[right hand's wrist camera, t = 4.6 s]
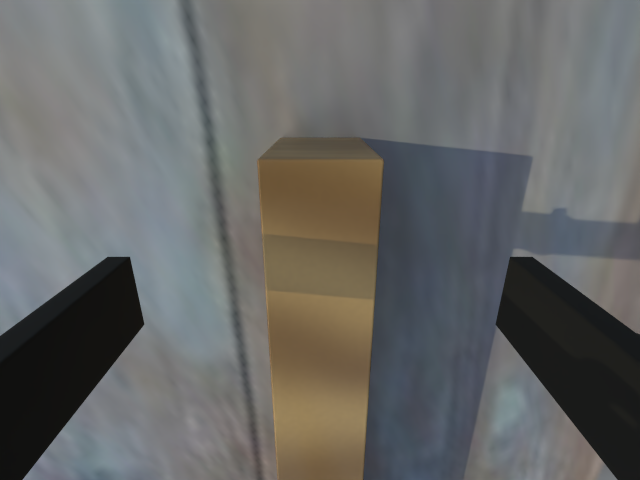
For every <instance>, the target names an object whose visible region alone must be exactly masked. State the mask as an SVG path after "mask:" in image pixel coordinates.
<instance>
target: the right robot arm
mask: <svg viewBox="0 0 640 480" xmlns="http://www.w3.org/2000/svg"><path fill="white" fill-rule="evenodd" d="M143 325H144V321H143V316H142V311H141V307H140V302H139V297H138V293H137V288H136V283H135V279H134V274H133V269H132V265H131V260H130V257H107V258H106V259H104V260H103V261H101V262H100V263H99V264H97V265H96V266H95V267H93V268H92V269H91V270H89V271H88V272H87V273H85V274H84V275H82V276H81V277H80V278H78V279H77V280H76V281H74V282H73V283H72V284H70V285H69V286H68V287H66V288H65V289H63V290H62V291H61V292H59V293H58V294H57V295H55V296H54V297H53V298H51V299H50V300H49V301H47V302H46V303H44V304H43V305H42V306H40V307H39V308H38V309H36V310H35V311H34V312H32V313H31V314H30V315H28V316H27V317H25V318H24V319H23V320H21V321H20V322H19V323H17V324H16V325H15V326H13V327H12V328H11V329H9V330H8V331H6V332H5V333H4V334H2V335H1V336H0V480H23V478H24V477H25V476H26V474H27V473H28V472H29V471H30V469H31V468H32V467H33V466H34V464H35V463H36V462H37V460H38V459H39V458H40V457H41V455H42V454H43V453H44V452H45V450H46V449H47V448H48V446H49V445H50V444H51V443H52V441H53V440H54V439H55V437H56V436H57V435H58V434H59V432H60V431H61V430H62V429H63V427H64V426H65V425H66V423H67V422H68V421H69V420H70V418H71V417H72V416H73V415H74V413H75V412H76V411H77V409H78V408H79V407H80V406H81V404H82V403H83V402H84V401H85V399H86V398H87V397H88V395H89V394H90V393H91V392H92V390H93V389H94V388H95V387H96V385H97V384H98V383H99V381H100V380H101V379H102V378H103V376H104V375H105V374H106V373H107V371H108V370H109V369H110V367H111V366H112V365H113V364H114V362H115V361H116V360H117V359H118V357H119V356H120V355H121V353H122V352H123V351H124V350H125V348H126V347H127V346H128V345H129V343H130V342H131V341H132V339H133V338H134V337H135V336H136V334H137V333H138V332H139V330H140V329H141V328H142V327H143ZM496 325H497V327H498V328H499V329H500V330H501V332H502V333H503V334H504V336H505V337H506V338H507V339H508V341H509V342H510V343H511V345H512V346H513V347H514V348H515V350H516V351H517V352H518V353H519V355H520V356H521V357H522V359H523V360H524V361H525V362H526V364H527V365H528V366H529V367H530V369H531V370H532V371H533V373H534V374H535V375H536V376H537V378H538V379H539V380H540V381H541V383H542V384H543V385H544V387H545V388H546V389H547V390H548V392H549V393H550V394H551V395H552V397H553V398H554V399H555V401H556V402H557V403H558V404H559V406H560V407H561V408H562V409H563V411H564V412H565V413H566V415H567V416H568V417H569V418H570V420H571V421H572V422H573V423H574V425H575V426H576V427H577V429H578V430H579V431H580V432H581V434H582V435H583V436H584V437H585V439H586V440H587V441H588V443H589V444H590V445H591V446H592V448H593V449H594V450H595V452H596V453H597V454H598V455H599V457H600V458H601V459H602V460H603V462H604V463H605V464H606V466H607V467H608V468H609V469H610V471H611V472H612V473H613V474H614V476H615V477H616V478H617V479H618V480H640V334H638V333H635V332H634V331H632V330H631V329H629V328H628V327H627V326H625V325H624V324H623V323H621V322H620V321H619V320H617V319H616V318H615V317H613V316H612V315H610V314H609V313H608V312H606V311H605V310H604V309H602V308H601V307H600V306H598V305H597V304H596V303H594V302H593V301H591V300H590V299H589V298H587V297H586V296H585V295H583V294H582V293H581V292H579V291H578V290H577V289H575V288H574V287H572V286H571V285H570V284H568V283H567V282H566V281H564V280H563V279H562V278H560V277H559V276H558V275H556V274H555V273H553V272H552V271H551V270H549V269H548V268H547V267H545V266H544V265H543V264H541V263H540V262H539V261H537V260H536V259H534V258H533V257H510V260H509V265H508V269H507V274H506V279H505V283H504V288H503V293H502V297H501V302H500V307H499V311H498V316H497V321H496Z"/></svg>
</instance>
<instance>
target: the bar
mask: <svg viewBox="0 0 640 480" xmlns="http://www.w3.org/2000/svg"><path fill="white" fill-rule="evenodd" d="M257 164H258V180H259V195H260V211H261V227H262V242H263V258H264V274H265V289H266V305H267V321H268V337H269V352H270V368H271V384H272V399H273V415H274V431H275V446H276V462H277V478H278V480H363V475H364V460H365V445H366V429H367V414H368V399H369V383H370V368H371V352H372V337H373V322H374V306H375V291H376V276H377V260H378V245H379V230H380V214H381V199H382V184H383V168H384V160H383V159H382V158H381V157H380V156H379V155H378V154H377V153H376V152H375V151H374V150H373V149H372V148H370V147H369V146H368V145H367V144H366V143H365V142H364V141H363V140H362V139H361V138H280V139H279V140H278V141H277V142H276V143H275V144H274V145H273V146H272V147H271V148H270V149H268V150H267V151H266V152H265V153H264V154H263V155H262V156H261V157H260V158H259V159H258V161H257Z"/></svg>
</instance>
